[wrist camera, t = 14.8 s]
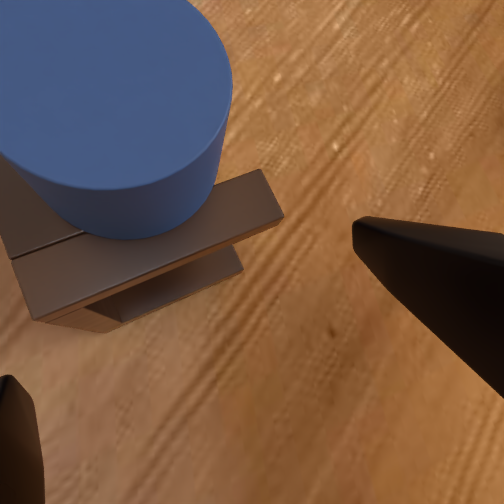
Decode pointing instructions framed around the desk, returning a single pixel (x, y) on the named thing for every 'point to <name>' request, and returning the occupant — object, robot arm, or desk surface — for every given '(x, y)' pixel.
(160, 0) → the peg
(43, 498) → the robot arm
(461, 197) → the desk surface
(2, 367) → the desk surface
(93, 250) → the brown slotted stand
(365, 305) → the desk surface
